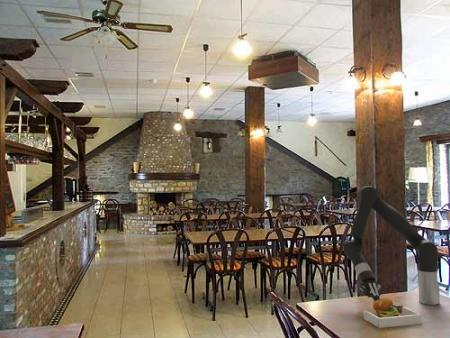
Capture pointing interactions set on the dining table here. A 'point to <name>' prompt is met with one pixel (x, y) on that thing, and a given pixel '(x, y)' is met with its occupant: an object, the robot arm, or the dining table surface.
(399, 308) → the cardboard carton
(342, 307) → the dining table surface
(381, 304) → the cheeseburger
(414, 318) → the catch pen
